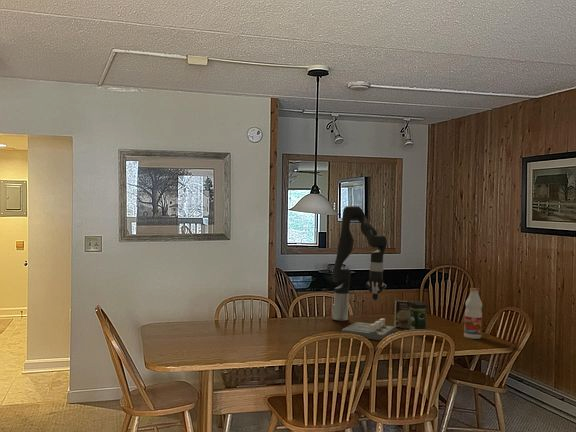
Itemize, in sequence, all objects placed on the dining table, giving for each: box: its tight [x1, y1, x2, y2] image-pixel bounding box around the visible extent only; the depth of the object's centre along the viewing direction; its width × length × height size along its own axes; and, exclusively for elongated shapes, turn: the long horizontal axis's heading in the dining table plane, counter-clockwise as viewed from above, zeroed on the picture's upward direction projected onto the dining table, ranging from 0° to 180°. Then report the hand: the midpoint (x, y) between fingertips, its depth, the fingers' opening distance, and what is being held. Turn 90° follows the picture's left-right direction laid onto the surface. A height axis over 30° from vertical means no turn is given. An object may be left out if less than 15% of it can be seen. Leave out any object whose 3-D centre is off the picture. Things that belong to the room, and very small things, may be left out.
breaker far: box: [378, 317, 386, 327], centre depth 333 cm, size 2×5×4 cm, turn 154°
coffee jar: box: [408, 300, 427, 331], centre depth 332 cm, size 10×8×19 cm
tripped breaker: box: [373, 320, 381, 329], centre depth 325 cm, size 2×5×4 cm, turn 155°
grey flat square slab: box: [340, 321, 396, 341], centre depth 327 cm, size 24×26×3 cm
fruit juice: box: [463, 287, 483, 340], centre depth 326 cm, size 9×9×28 cm
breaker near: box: [369, 322, 376, 332], centre depth 317 cm, size 2×5×4 cm, turn 154°
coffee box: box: [393, 299, 412, 329], centre depth 348 cm, size 9×6×16 cm
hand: (375, 299), depth 328 cm, fingers closed
